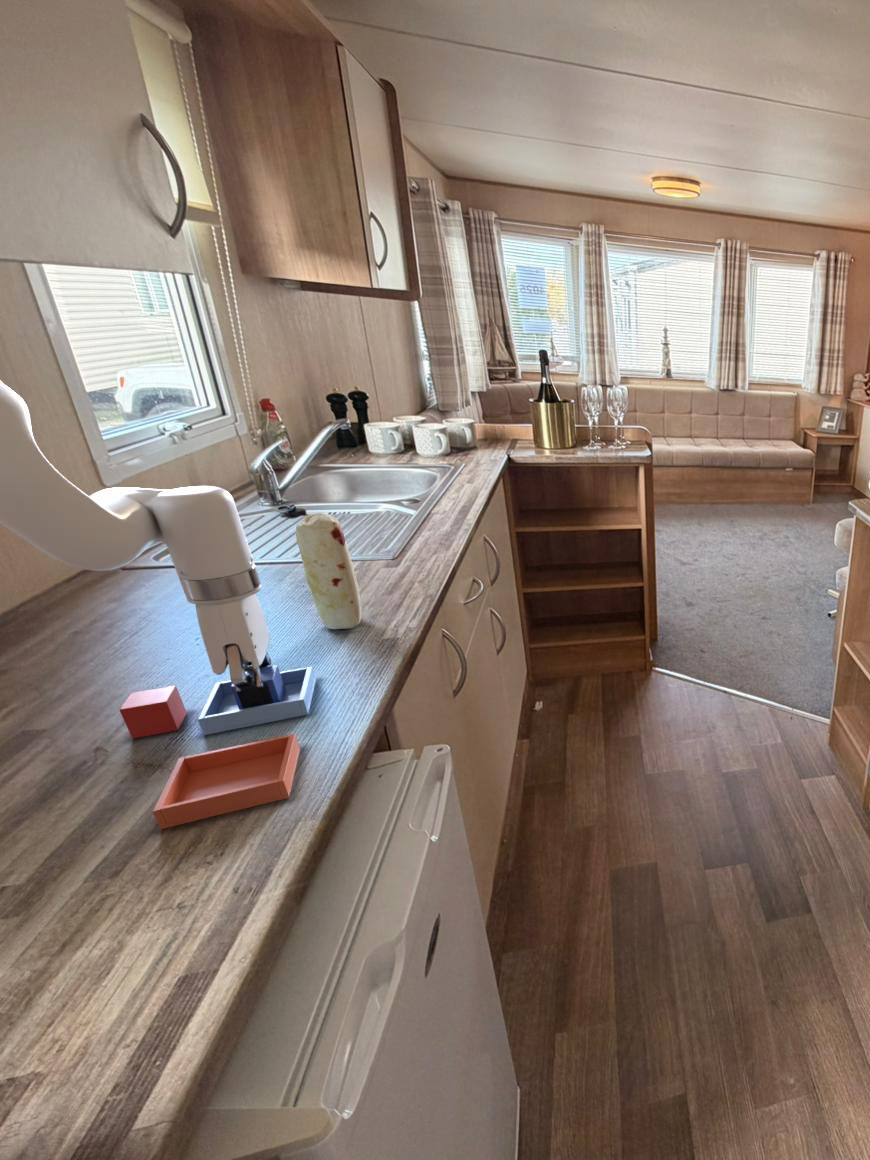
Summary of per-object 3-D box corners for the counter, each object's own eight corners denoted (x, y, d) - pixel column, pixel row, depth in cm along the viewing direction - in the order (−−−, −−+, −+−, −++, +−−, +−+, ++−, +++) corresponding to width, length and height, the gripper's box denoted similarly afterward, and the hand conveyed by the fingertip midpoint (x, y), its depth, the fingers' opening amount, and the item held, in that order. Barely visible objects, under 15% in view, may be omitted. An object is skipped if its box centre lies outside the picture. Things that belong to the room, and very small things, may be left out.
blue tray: (203, 735, 84) (197, 719, 83) (221, 697, 92) (215, 682, 91) (308, 714, 89) (303, 699, 88) (316, 680, 97) (311, 666, 96)
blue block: (240, 714, 87) (230, 686, 86) (247, 698, 91) (237, 671, 89) (281, 706, 89) (272, 679, 88) (286, 691, 93) (277, 664, 91)
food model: (376, 625, 114) (349, 518, 106) (332, 637, 109) (301, 526, 101) (355, 609, 120) (329, 506, 112) (313, 620, 115) (283, 513, 107)
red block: (132, 739, 82) (118, 709, 80) (143, 721, 86) (130, 692, 84) (178, 730, 84) (166, 701, 83) (187, 712, 88) (175, 685, 86)
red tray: (160, 829, 69) (152, 811, 68) (185, 774, 77) (178, 757, 76) (289, 797, 74) (283, 780, 73) (300, 749, 82) (295, 733, 81)
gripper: (200, 565, 88) (241, 680, 95) (164, 612, 74) (215, 741, 82) (269, 558, 91) (303, 669, 98) (246, 602, 78) (288, 726, 85)
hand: (263, 700), depth 90 cm, fingers closed on blue block, 4 cm apart
